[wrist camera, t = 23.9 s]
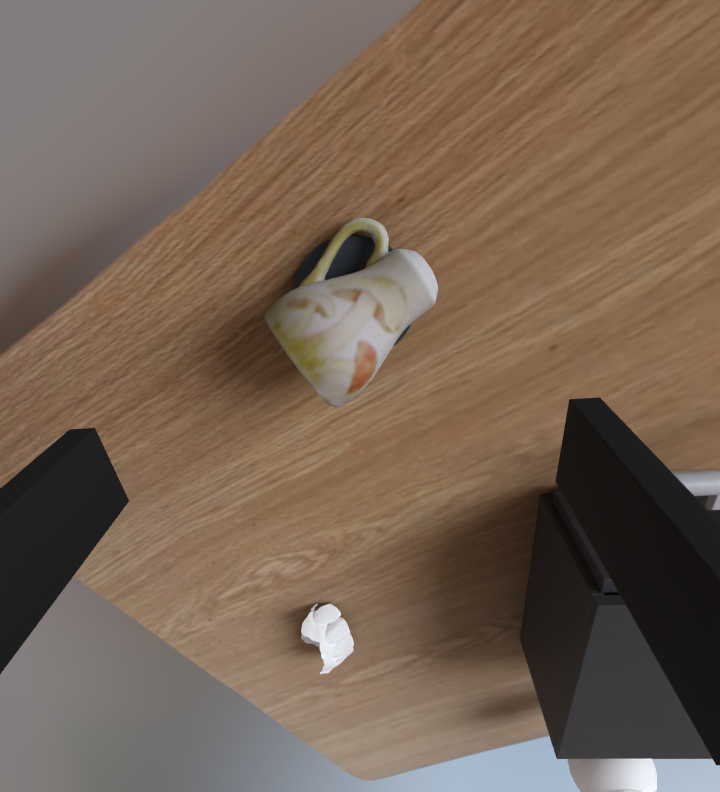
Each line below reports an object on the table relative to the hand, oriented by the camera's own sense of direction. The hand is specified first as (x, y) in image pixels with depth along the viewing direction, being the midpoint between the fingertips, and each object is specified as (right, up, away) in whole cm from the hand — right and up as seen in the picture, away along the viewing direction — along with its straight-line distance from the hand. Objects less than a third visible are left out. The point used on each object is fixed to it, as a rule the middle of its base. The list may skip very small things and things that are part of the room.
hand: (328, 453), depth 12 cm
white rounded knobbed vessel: (+26, -31, +36) cm, 54 cm away
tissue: (-2, -22, +32) cm, 39 cm away
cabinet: (+23, -15, +27) cm, 38 cm away
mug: (+1, +8, +15) cm, 17 cm away
